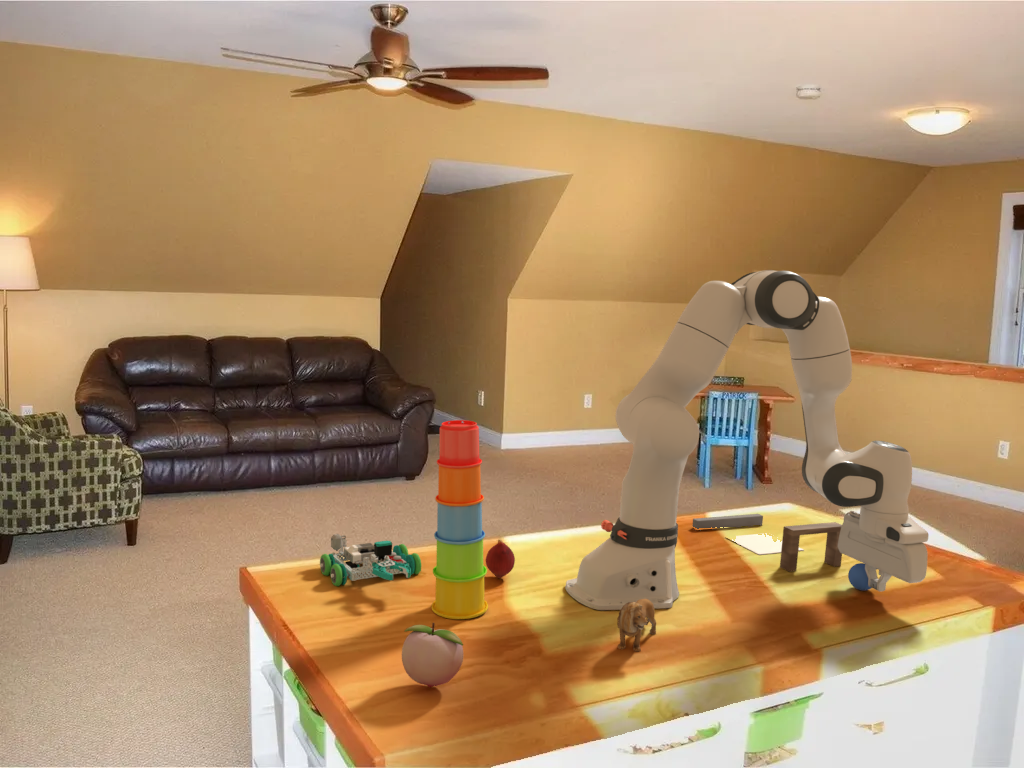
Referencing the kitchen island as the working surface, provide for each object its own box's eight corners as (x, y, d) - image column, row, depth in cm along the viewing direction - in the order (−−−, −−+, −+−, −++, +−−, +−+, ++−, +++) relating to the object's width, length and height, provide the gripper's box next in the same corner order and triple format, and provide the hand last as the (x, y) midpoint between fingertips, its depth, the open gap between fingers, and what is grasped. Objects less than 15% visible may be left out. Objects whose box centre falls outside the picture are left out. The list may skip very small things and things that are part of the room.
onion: (515, 574, 177) (517, 536, 176) (512, 584, 172) (514, 545, 171) (486, 571, 178) (488, 534, 177) (483, 581, 172) (485, 542, 171)
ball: (866, 571, 174) (847, 557, 179) (857, 595, 176) (839, 581, 181) (886, 571, 177) (867, 558, 181) (877, 595, 178) (858, 581, 183)
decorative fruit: (391, 697, 125) (393, 631, 123) (407, 671, 133) (409, 609, 131) (454, 706, 123) (457, 639, 122) (467, 679, 131) (470, 616, 130)
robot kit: (357, 612, 155) (359, 562, 153) (312, 568, 176) (313, 523, 175) (450, 597, 164) (452, 549, 163) (396, 556, 185) (398, 514, 184)
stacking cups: (474, 624, 151) (484, 430, 147) (421, 613, 155) (429, 423, 150) (496, 604, 161) (505, 421, 156) (445, 594, 164) (453, 415, 160)
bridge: (840, 565, 193) (845, 526, 192) (789, 571, 188) (793, 530, 186) (831, 561, 196) (835, 522, 195) (779, 566, 190) (783, 526, 189)
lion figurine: (643, 663, 140) (647, 609, 139) (611, 656, 142) (614, 604, 140) (659, 629, 154) (662, 580, 153) (629, 623, 155) (632, 575, 154)
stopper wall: (696, 530, 214) (697, 520, 214) (692, 528, 216) (693, 518, 216) (762, 525, 222) (763, 515, 222) (757, 523, 224) (758, 513, 224)
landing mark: (759, 554, 198) (759, 554, 198) (724, 537, 210) (724, 536, 210) (804, 550, 203) (804, 549, 203) (767, 533, 215) (767, 533, 215)
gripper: (833, 509, 181) (827, 572, 183) (910, 538, 162) (903, 609, 164) (857, 507, 184) (851, 570, 185) (936, 536, 165) (928, 605, 166)
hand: (876, 588), depth 175 cm, fingers closed
